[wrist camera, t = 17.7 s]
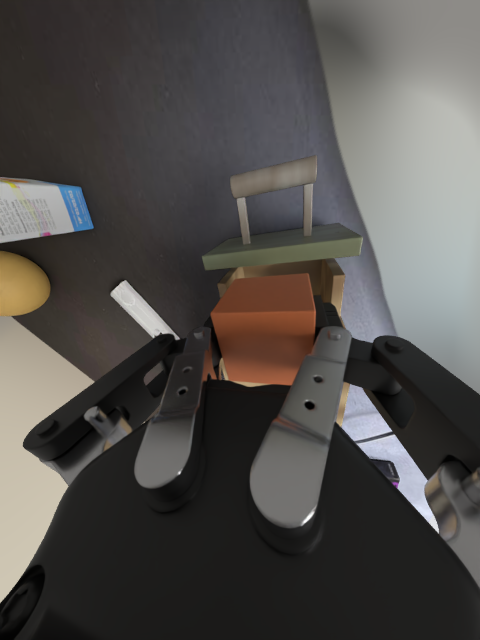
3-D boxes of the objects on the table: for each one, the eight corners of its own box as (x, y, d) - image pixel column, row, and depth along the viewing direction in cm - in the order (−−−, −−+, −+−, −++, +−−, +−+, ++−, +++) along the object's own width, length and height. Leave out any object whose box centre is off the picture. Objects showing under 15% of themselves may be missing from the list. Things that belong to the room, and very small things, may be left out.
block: (308, 272, 11) (316, 310, 7) (307, 335, 13) (312, 388, 10) (234, 278, 12) (209, 313, 9) (244, 334, 15) (228, 381, 11)
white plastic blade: (172, 356, 36) (168, 360, 36) (111, 293, 32) (105, 296, 31) (189, 348, 34) (186, 352, 33) (126, 279, 29) (121, 282, 28)
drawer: (218, 186, 19) (181, 180, 13) (345, 157, 16) (380, 130, 9) (246, 339, 29) (233, 379, 22) (327, 340, 26) (339, 388, 19)
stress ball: (26, 233, 29) (-78, 247, 21) (76, 289, 33) (5, 320, 25) (3, 257, 33) (-92, 277, 25) (50, 305, 37) (-19, 335, 29)
